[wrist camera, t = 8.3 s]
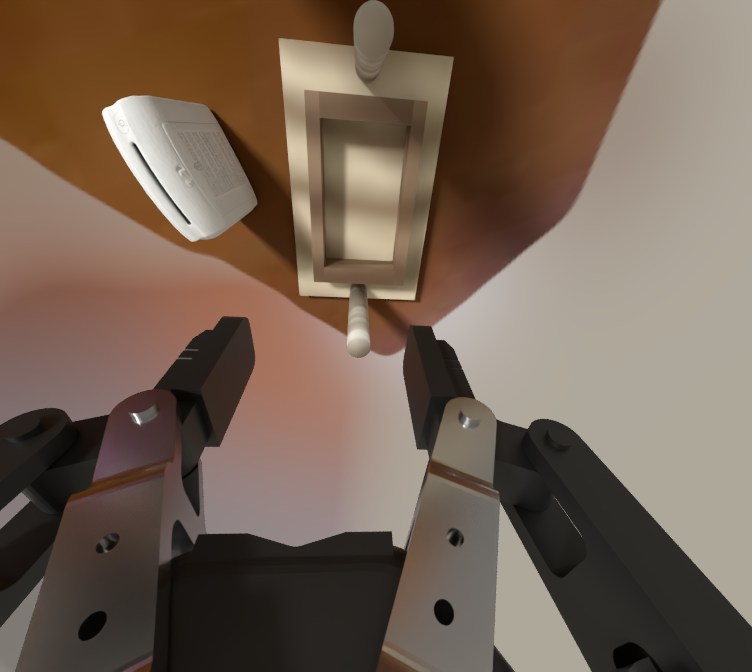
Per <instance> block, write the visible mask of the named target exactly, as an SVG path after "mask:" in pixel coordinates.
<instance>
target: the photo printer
mask: <svg viewBox="0 0 752 672" xmlns="http://www.w3.org/2000/svg"><path fill="white" fill-rule="evenodd" d="M102 115H103V118H104V120H105V123H106V125H107V128H108V130H109V132H110V135H111V137H112V138H113V141H114V142H115V144H116V146H117V148H118V150H119V151H120V153H121V155H122V156H123V158H124V160H125V161H126V163H127V165H128V166H129V168H130V169H131V171H132V172H133V174H134V175H135V177H136V178H137V180H138V181H139V183H140V184H141V186H142V187H143V188H144V190H145V191H146V193H147V194H148V195H149V197H150V198H151V199H152V201H153V202H154V203H155V204H156V206H157V207H158V208H159V209H160V211H161V212H162V213H163V214H164V216H165V217H166V218H167V219H168V220H169V221H170V222H171V223H172V224H173V226H174V227H175V228H176V229H177V230H178V231H179V232H180V233H181V234H183V235H184V236H185V237H186V238H187V239H189V240H190V241H191V242H194V241H197V240H199V239H212V238H215V237H217V236H219V235H220V234H222V233H223V232H224V231H226V230H227V229H228V228H230V227H231V226H232V225H234V224H235V223H236V222H238V221H239V220H240V219H242V218H243V217H244V216H246V215H247V214H248V213H250V212H251V211H252V210H253V209H254V207H255V206H256V205H257V204H258V203H257V199H256V196H255V193H254V191H253V189H252V187H251V185H250V182H249V180H248V178H247V176H246V174H245V172H244V170H243V169H242V167H241V165H240V163H239V161H238V159H237V157H236V155H235V153H234V151H233V149H232V147H231V145H230V144H229V142H228V140H227V138H226V136H225V134H224V132H223V131H222V129H221V127H220V125H219V123H218V122H217V120H216V118H215V117H214V115H213V114H212V112H211V111H210V110H209V108H208V107H207V106H206V105H204V104H198V103H191V102H184V101H178V100H172V99H166V98H159V97H154V96H129V97H126V98H122V99H120V100H118V101H117V102H116V103H115V104H114V105H112V106H110V107H106V108H105V109H104V110H103V112H102Z"/></svg>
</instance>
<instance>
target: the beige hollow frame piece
mask: <svg viewBox="0 0 752 672" xmlns="http://www.w3.org/2000/svg"><path fill="white" fill-rule="evenodd" d="M353 32H354V46H347V45H338V44H328V43H319V42H310V41H300V40H291V39H282V38H279V48H280V60H281V72H282V84H283V97H284V109H285V121H286V133H287V145H288V158H289V170H290V182H291V194H292V206H293V219H294V231H295V243H296V255H297V267H298V280H299V292H300V296H325V297H349V317H348V337H347V351H348V353H349V354H350V355H351V356H353V357H357V358H360V357H364V356H366V355H367V354H368V353H369V352H370V335H369V317H368V299H367V298H375V299H400V300H415V294H416V288H417V282H418V276H419V270H420V263H421V257H422V251H423V245H424V239H425V233H426V226H427V220H428V214H429V208H430V202H431V196H432V189H433V183H434V177H435V171H436V165H437V158H438V152H439V146H440V140H441V134H442V128H443V121H444V115H445V109H446V103H447V97H448V91H449V84H450V78H451V72H452V66H453V60H454V57H450V56H440V55H431V54H422V53H412V52H403V51H394V50H389V48H390V46H391V43H392V40H393V36H394V22H393V18H392V15H391V13H390V11H389V9H388V8H387V7H386V6H385V5H384V4H383V3H382V2H380V1H377V0H370V1H367V2H365V3H364V4H363V5H362V6H361V7H360V8H359V9H358V11H357V13H356V16H355V19H354V25H353Z"/></svg>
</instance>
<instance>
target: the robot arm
mask: <svg viewBox="0 0 752 672" xmlns="http://www.w3.org/2000/svg"><path fill="white" fill-rule="evenodd" d="M254 364H255V351H254V346H253V340H252V335H251V329H250V324H249V320H248V318H246V317H228V316H227V317H226V316H224V317H222V318H221V319H220V321H219V322H218V323H217V325H216V326H215V328H214V329H213V330H205V331H204V332H202V333H201V334H199V335H198V336H196V337H195V338H193V339H192V341H191V342H190V343H189V344H188V346H187V347H186V348H185V351H183V352H182V353H181V354H180V356H179V358H178V359H177V360H176V361H175V362H174V363H173V365H172V366H171V367H170V368H169V370H168V371H167V372H166V374H165V375H164V376H163V377H162V378H161V380H160V381H159V382H158V384H157V385H156V386H155V387H154V389H153V390H147V391H143V392H140V393H137V394H134V395H132V396H130V397H128V398H126V399H125V400H124V401H122V402H120V403H119V404H118V405H117V406H116V407H115V408H114V409H113V410H112V412H111V413H110V414H109V415H105V416H100V417H95V418H90V419H85V420H80V421H75V422H72V420H71V419H70V418H69V416H68V415H67V414H66V413H65V411H63V410H61V409H56V408H45V409H39V410H34V411H30V412H27V413H24V414H22V415H19V416H17V417H14V418H12V419H10V420H8V421H7V422H5V423H3V424H1V425H0V510H2V508H4V507H5V506H6V505H7V504H8V503H9V502H10V501H12V500H13V499H14V498H15V497H16V496H17V495H18V494H19V493H21V492H22V493H23V494H24V495H25V496H26V497H27V498H28V499H29V500H31V501H30V502H29V503H28V504H27V505H26V506H25V507H24V508H23V509H22V510H20V511H19V512H18V514H16V515H15V516H14V517H13V518H12V519H11V520H10V521H9V522H8V523H7V524H6V525H5V526H4V527H3V528H1V530H0V627H1V626H2V625H3V624H4V623H5V621H6V620H7V619H8V618H9V617H10V615H11V614H12V613H13V612H14V611H15V610H16V608H17V607H18V606H19V605H20V604H21V603H22V601H23V600H24V599H25V598H26V597H27V596H28V594H29V593H30V592H31V591H32V590H33V588H34V587H35V586H36V585H37V584H38V582H39V581H40V580H41V579H42V578H43V576H44V578H43V582H42V585H41V588H40V591H39V594H38V598H37V601H36V604H35V608H34V611H33V614H32V617H31V621H30V624H29V627H28V631H27V634H26V637H25V641H24V644H23V647H22V650H21V654H20V657H19V660H18V663H17V667H16V670H15V672H515V671H514V670H513V669H512V668H511V666H510V665H509V664H508V663H507V661H506V660H505V658H504V657H503V656H502V655H501V653H500V652H499V651H498V649H497V648H496V647H495V646H494V625H495V624H494V623H495V602H496V601H495V600H496V579H497V556H498V532H499V508H500V502H501V504H502V506H503V508H504V510H505V512H506V514H507V515H508V517H509V519H510V521H511V523H512V525H513V527H514V528H515V530H516V532H517V534H518V536H519V538H520V540H521V541H522V543H523V545H524V547H525V549H526V550H527V553H528V554H529V556H530V558H531V560H532V562H533V563H534V565H535V567H536V569H537V571H538V573H539V575H540V577H541V578H542V580H543V582H544V584H545V586H546V588H547V590H548V591H549V593H550V595H551V597H552V599H553V601H554V602H555V604H556V606H557V608H558V610H559V612H560V614H561V615H562V617H563V619H564V621H565V623H566V625H567V627H568V628H569V630H570V632H571V634H572V636H573V638H574V640H575V641H576V643H577V645H578V647H579V649H580V650H581V653H582V654H583V656H584V658H585V660H586V662H587V664H588V665H589V667H590V669H591V671H592V672H752V627H751V626H750V625H749V624H748V622H747V621H746V620H745V619H744V618H743V617H742V616H741V615H740V613H739V612H738V611H737V610H736V609H735V608H734V607H733V606H732V605H731V604H730V602H729V601H728V600H727V599H726V598H725V597H724V596H723V595H722V594H721V592H720V591H719V590H718V589H717V588H716V587H715V586H714V585H713V584H712V583H711V581H710V580H709V579H708V578H707V577H706V576H705V575H704V574H703V573H702V571H701V570H700V569H699V568H698V567H697V566H696V565H695V564H694V563H693V562H692V561H691V559H690V558H689V557H688V556H687V555H686V554H685V553H684V552H683V551H682V550H681V548H680V547H679V546H678V545H677V544H676V543H675V542H674V541H673V539H672V538H671V537H670V536H669V535H668V534H667V533H666V532H665V531H664V530H663V528H662V527H661V526H660V525H659V524H658V523H657V522H656V521H655V520H654V518H653V517H652V516H651V515H650V514H649V513H648V512H647V511H646V510H645V508H644V507H643V506H642V505H641V504H640V503H639V502H638V501H637V500H636V499H635V497H634V496H633V495H632V494H631V493H630V492H629V491H628V490H627V489H626V487H624V485H623V484H622V483H621V482H620V481H619V480H618V479H617V478H616V477H615V475H614V474H613V473H612V472H611V471H610V470H609V469H608V468H607V466H606V465H605V464H604V463H603V462H602V461H601V460H600V459H599V458H598V457H597V456H596V454H595V453H594V452H593V451H592V450H591V449H590V448H589V447H588V446H587V444H586V443H585V442H584V441H583V440H582V439H581V438H580V437H579V436H578V435H577V434H576V433H575V432H574V431H573V430H571V429H570V428H568V427H567V426H565V425H563V424H561V423H559V422H556V421H553V420H549V419H538V420H535V421H533V422H532V423H531V425H530V426H529V428H528V429H525V428H522V427H518V426H515V425H511V424H508V423H504V422H501V421H499V420H497V419H496V418H495V415H494V414H493V412H492V411H491V410H490V409H489V408H488V407H487V406H486V405H484V404H483V403H481V402H480V401H478V400H476V399H475V397H474V395H473V392H472V390H471V388H470V386H469V383H468V381H467V379H466V376H465V374H464V372H463V370H462V367H461V365H460V363H459V361H458V358H457V356H456V353H455V351H454V349H453V348H452V347H451V346H450V345H449V344H448V343H447V342H446V341H444V340H436V338H435V335H434V333H433V330H432V327H431V326H415V325H411V326H410V327H409V331H408V337H407V342H406V348H405V354H404V360H403V375H404V380H405V386H406V391H407V397H408V402H409V407H410V413H411V419H412V424H413V430H414V435H415V440H416V446H417V449H426V450H428V455H429V461H428V465H427V468H426V472H425V476H424V480H423V483H422V486H421V490H420V494H419V497H418V501H417V505H416V508H415V512H414V516H413V520H412V523H411V527H410V530H409V533H408V537H407V540H406V544H405V547H404V549H402V548H399V547H396V546H393V542H392V532H345V533H342V534H339V535H335V536H332V537H329V538H325V539H322V540H319V541H315V542H312V543H309V544H306V545H303V546H298V547H293V546H288V545H285V544H281V543H278V542H275V541H271V540H268V539H264V538H261V537H258V536H255V535H251V534H207V532H206V527H205V516H204V494H203V472H202V461H201V459H200V456H201V454H202V452H203V450H204V447H219V446H220V444H221V442H222V440H223V437H224V435H225V433H226V430H227V428H228V426H229V424H230V421H231V419H232V417H233V415H234V412H235V410H236V407H237V405H238V403H239V401H240V399H241V396H242V394H243V392H244V389H245V387H246V385H247V382H248V380H249V378H250V375H251V373H252V371H253V368H254ZM555 498H556V499H557V500H556V499H555ZM557 501H558V502H559V503H558V502H557ZM559 504H560V505H561V506H562V507H561V506H560V505H559ZM562 508H563V509H564V510H563V509H562ZM564 511H565V512H566V513H565V512H564ZM566 514H567V515H568V516H569V518H570V519H571V520H570V519H569V518H568V516H567V515H566ZM571 521H572V522H573V523H572V522H571ZM573 524H574V525H575V526H574V525H573ZM575 527H576V528H577V529H578V531H579V532H580V534H581V535H580V534H579V532H578V531H577V529H576V528H575ZM581 536H582V537H583V538H582V537H581Z"/></svg>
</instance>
